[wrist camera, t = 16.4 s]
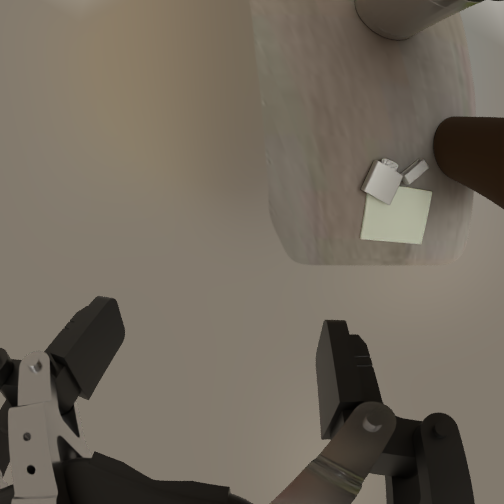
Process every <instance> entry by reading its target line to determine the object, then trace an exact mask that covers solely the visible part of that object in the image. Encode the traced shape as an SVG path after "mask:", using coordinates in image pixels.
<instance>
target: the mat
mask: <svg viewBox="0 0 504 504" xmlns="http://www.w3.org/2000/svg"><path fill="white" fill-rule="evenodd" d="M431 196H432V192H431V191H427V190H422V189H416V188H410V187H404V186H399V187H398V189H397V192H396V194H395V196H394V198H393V200H392V202H391V204H390V205H388V204H386V203H384V202H382V201H380V200H379V199H377V198H375V197H373V196H372V195H370V194H368V193H367V195H366V202H365V209H364V215H363V221H362V227H361V233H360V239H366V240H378V241H390V242H401V243H412V244H421V242H422V238H423V234H424V230H425V226H426V221H427V217H428V212H429V207H430V202H431Z"/></svg>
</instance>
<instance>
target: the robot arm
mask: <svg viewBox="0 0 504 504" xmlns="http://www.w3.org/2000/svg"><path fill="white" fill-rule="evenodd" d="M482 1H484V0H355V7H356V10H357V13H358V15H359V16H360V18H361V19H362V21H363V22H364V23H365V24H366V25H367V26H368V27H369V28H370V29H371V30H373V31H374V32H376V33H377V34H379V35H381V36H383V37H386V38H389V39H393V40H404V39H408V38H409V37H411V36H413V35H415V34H417V33H419V32H420V31H422V30H424V29H426V28H428V27H430V26H432V25H434V24H436V23H438V22H439V21H441V20H443V19H445V18H447V17H449V16H451V15H454V14H456V13H458V12H460V11H462V10H464V9H466V8H468V7H470V6H473V5H475V4H477V3H480V2H482ZM493 1H503V0H493ZM124 337H125V328H124V325H123V321H122V318H121V314H120V311H119V307H118V304H117V301H116V300H115V299H113V298H108V297H102V296H97V297H96V298H95V299H94V300H93V301H92V302H91V303H90V304H89V306H86V307H85V308H83V309H82V310H80V311H78V312H77V313H76V314H75V315H74V316H73V318H72V319H71V320H70V322H68V323H67V325H66V326H65V329H62V331H61V332H60V333H59V334H58V336H57V337H56V338H55V339H54V340H53V342H52V343H51V344H50V345H49V346H48V348H47V349H46V350H45V351H44V352H43V351H34V352H31V353H29V354H28V355H26V356H25V357H24V358H23V359H22V360H14V359H10V357H9V355H8V354H7V352H6V351H5V350H4V349H2V348H0V392H1V393H2V394H3V396H4V397H5V398H6V401H5V403H4V404H3V406H2V408H1V410H0V504H253V503H251V502H249V501H247V500H246V499H243V498H241V497H239V496H236V495H234V494H231V493H230V487H225V486H218V485H212V484H206V483H200V482H194V481H159V480H153V479H151V478H149V477H147V476H145V475H143V474H142V473H140V472H138V471H136V470H135V469H133V468H132V467H130V466H128V465H127V464H125V463H124V462H121V461H118V460H116V459H113V458H110V457H108V456H105V455H103V454H100V453H98V452H94V454H93V455H92V453H91V452H90V450H89V448H88V446H87V444H86V441H85V438H84V433H83V429H82V424H81V419H80V414H79V409H78V404H77V402H76V399H77V397H78V396H80V397H82V398H85V399H87V400H89V398H90V397H91V395H92V393H93V392H94V390H95V388H96V386H97V384H98V383H99V381H100V379H101V378H102V376H103V374H104V372H105V371H106V369H107V367H108V366H109V364H110V362H111V361H112V359H113V357H114V356H115V354H116V352H117V351H118V349H119V348H120V346H121V344H122V343H123V340H124ZM316 373H317V384H318V396H319V410H320V424H321V439H331V441H330V442H329V444H328V445H327V446H326V447H325V448H324V450H323V451H322V452H321V453H320V454H319V456H318V457H317V458H316V459H314V460H313V461H311V463H310V464H308V466H307V467H306V468H305V469H304V470H303V471H302V472H301V473H300V474H299V475H298V476H297V477H296V478H295V479H294V481H293V482H291V483H290V484H289V485H288V487H286V488H285V490H283V491H282V492H281V493H280V494H279V495H278V496H277V497H276V498H275V499H274V500H273V501H272V502H271V503H270V504H351V503H352V501H353V500H354V499H355V497H356V496H357V494H358V493H359V491H360V489H361V487H362V483H363V481H364V479H365V478H366V477H367V475H368V474H369V473H372V474H379V475H385V480H386V498H387V504H475V503H474V496H473V490H472V484H471V479H470V474H469V469H468V465H467V461H466V456H465V452H464V448H463V444H462V440H461V437H460V433H459V430H458V426H457V424H456V422H455V421H454V420H453V419H452V418H451V417H450V416H448V415H446V414H444V413H433V414H430V415H429V416H427V417H426V418H425V419H424V420H423V421H415V420H409V419H403V418H400V417H397V416H395V414H394V413H393V411H392V410H391V409H390V408H389V407H388V406H386V405H384V404H383V402H382V398H381V395H380V391H379V387H378V383H377V379H376V376H375V372H374V369H373V367H372V361H371V358H370V355H369V351H368V348H367V345H366V343H365V342H364V341H363V340H362V339H361V338H360V336H359V335H349V331H348V327H347V324H346V321H344V320H325V321H324V323H323V327H322V331H321V336H320V340H319V344H318V348H317V353H316ZM9 462H10V463H11V470H12V478H13V485H10V486H8V484H7V482H6V481H4V480H3V476H4V473H5V471H6V469H7V466H8V464H9Z"/></svg>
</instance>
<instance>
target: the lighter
mask: <svg viewBox="0 0 504 504" xmlns="http://www.w3.org/2000/svg"><path fill="white" fill-rule="evenodd" d="M398 166H399V165H397V164H396V163H394V162H392V161H391V160H389V159H386V158H383V159H382V160H381V162H380V161H376V160H374V161H373V164H372V166H371V168H370V170H369V172H368V175H367V177H366V179H365V181H364V183H363V185H362V187H361V190H362V191H364V192H366V193H368V194H370V195H372V196H373V197H375V198H377V199H379V200H380V201H382V202H384V203H386V204H388V205H390V204H391V202H392V200H393V198H394V196H395V194H396V192H397V189H398V187H399V185H400V183H401V181H403V182H404V184H408V185H409V184H411V183H412V182H413V181H414V180H415V179H416V178H418V177H419V176H420V175H421V174H422V173H423V172H425V171H426V170H427V169H428V168H429V166H428V164H427V163H426V161H425V159H420V158H419V159H418V160H416V161H415V162H414V163H413V164H412V165H410V166H409V167H408V168H407V169H406V170H405V171H403V172H402V173H401V174H399V173H398V172H396V171H397V169H398Z"/></svg>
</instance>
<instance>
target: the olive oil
mask: <svg viewBox="0 0 504 504" xmlns="http://www.w3.org/2000/svg"><path fill="white" fill-rule="evenodd" d="M434 154H435V158H436V161H437V163H438V165H439V167H440V169H441V170H442V171H443V173H444V174H445V175H447V176H448V177H449V178H451V179H453V180H455V181H457V182H459V183H461V184H463V185H465V186H467V187H469V188H471V189H472V190H474V191H476V192H478V193H479V194H481V195H483V196H484V197H486V198H487V199H489V200H491V201H492V202H494V203H495V204H497V205H499V206H500V207H501V208H503V209H504V118H496V117H494V118H493V117H450V118H448V119H446V120H444V121H443V122H442V123H441V124H440V125H439V127H438V129H437V131H436V134H435V138H434Z"/></svg>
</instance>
